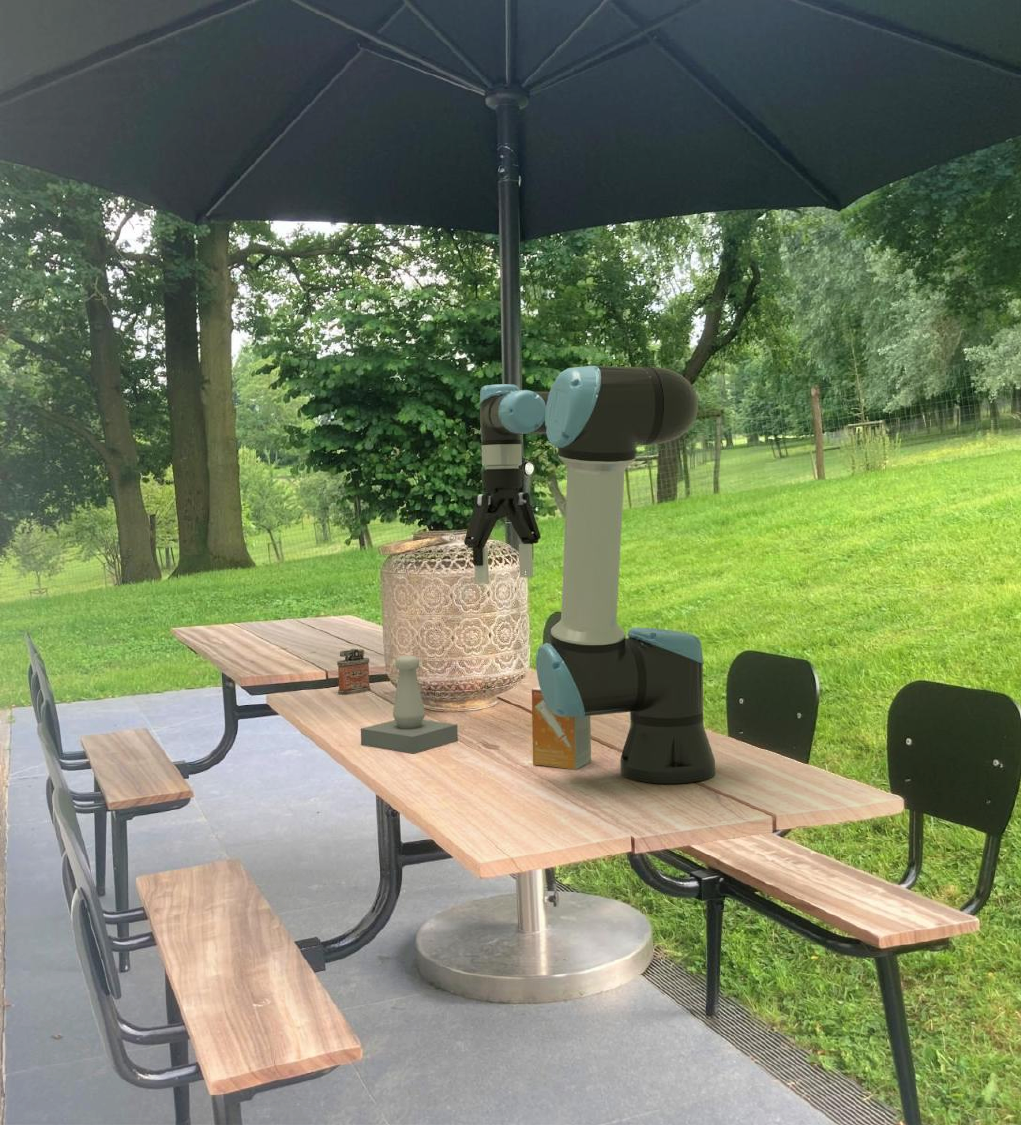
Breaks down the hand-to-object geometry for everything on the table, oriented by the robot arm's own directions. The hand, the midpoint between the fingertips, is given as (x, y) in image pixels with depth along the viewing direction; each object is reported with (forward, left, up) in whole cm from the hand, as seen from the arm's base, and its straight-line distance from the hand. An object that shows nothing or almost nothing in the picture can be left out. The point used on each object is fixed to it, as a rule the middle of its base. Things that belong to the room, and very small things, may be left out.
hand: (504, 580), depth 224 cm
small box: (-24, +16, -29) cm, 41 cm away
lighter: (+56, -14, -29) cm, 65 cm away
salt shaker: (+9, +18, -26) cm, 33 cm away
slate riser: (+9, +18, -29) cm, 35 cm away
